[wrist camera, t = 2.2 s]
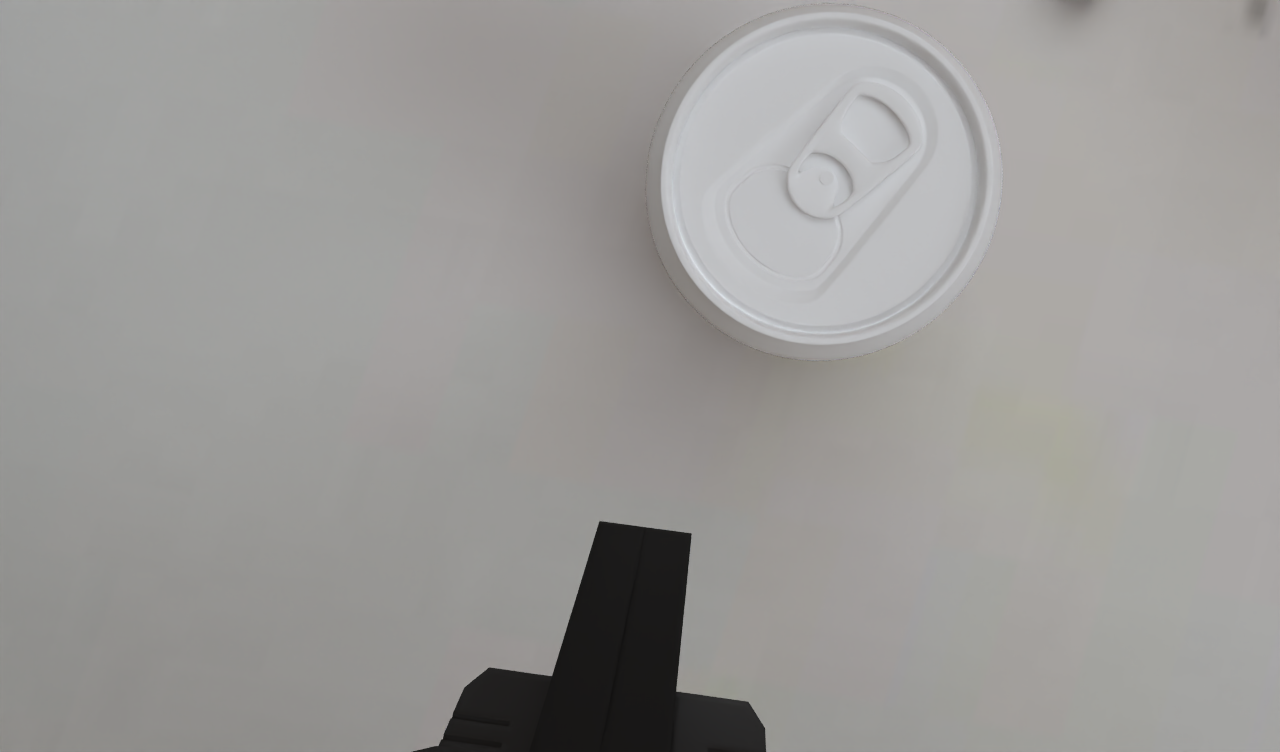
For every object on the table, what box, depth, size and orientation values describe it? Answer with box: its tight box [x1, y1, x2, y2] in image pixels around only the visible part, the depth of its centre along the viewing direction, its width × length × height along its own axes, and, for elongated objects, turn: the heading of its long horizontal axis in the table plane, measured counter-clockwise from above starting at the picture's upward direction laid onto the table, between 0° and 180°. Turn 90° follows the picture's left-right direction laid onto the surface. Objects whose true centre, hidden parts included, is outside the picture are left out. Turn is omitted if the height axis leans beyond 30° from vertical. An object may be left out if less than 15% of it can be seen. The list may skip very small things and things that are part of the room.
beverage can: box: [646, 3, 1003, 361], centre depth 28 cm, size 8×8×12 cm
